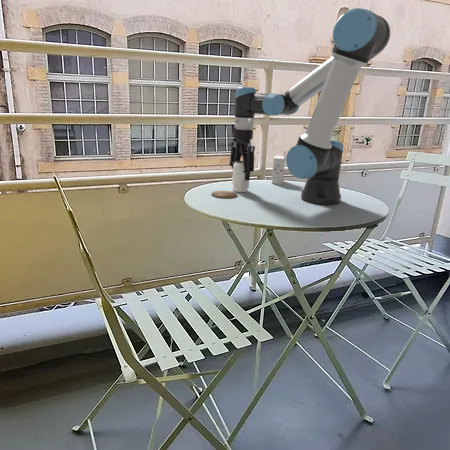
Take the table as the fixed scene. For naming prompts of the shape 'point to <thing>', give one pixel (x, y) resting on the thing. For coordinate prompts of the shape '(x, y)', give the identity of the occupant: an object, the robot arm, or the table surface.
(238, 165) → the can
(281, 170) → the ink cartridge box
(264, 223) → the table surface
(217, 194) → the coaster
